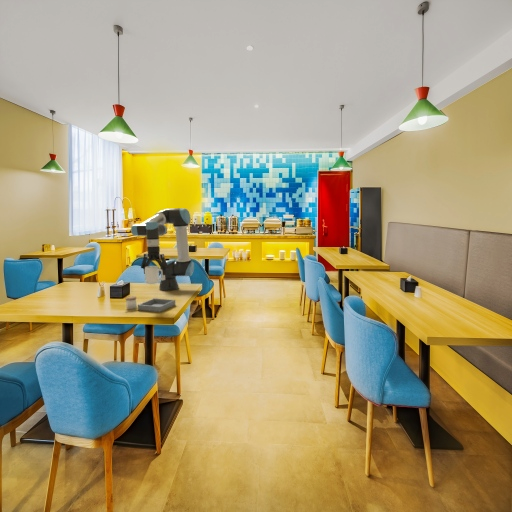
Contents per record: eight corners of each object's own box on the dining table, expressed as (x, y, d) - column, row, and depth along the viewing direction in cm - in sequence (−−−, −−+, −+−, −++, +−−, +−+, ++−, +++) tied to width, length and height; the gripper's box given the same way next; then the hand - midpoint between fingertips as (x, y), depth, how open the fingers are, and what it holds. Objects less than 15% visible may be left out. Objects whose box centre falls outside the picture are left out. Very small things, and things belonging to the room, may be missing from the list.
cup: (149, 281, 210) (148, 265, 209) (166, 281, 209) (166, 265, 207) (143, 283, 202) (142, 267, 201) (161, 284, 200) (160, 268, 199)
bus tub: (154, 303, 218) (154, 298, 217) (175, 305, 213) (175, 300, 212) (138, 310, 202) (137, 304, 202) (160, 312, 197) (160, 306, 197)
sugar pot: (131, 306, 212) (130, 296, 211) (139, 306, 210) (138, 296, 209) (123, 308, 206) (123, 298, 205) (132, 309, 204) (131, 299, 203)
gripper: (133, 246, 203) (135, 279, 206) (166, 246, 195) (167, 281, 198) (141, 245, 210) (143, 277, 213) (173, 245, 202) (174, 279, 205)
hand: (155, 279), depth 205 cm, fingers closed on cup, 12 cm apart
